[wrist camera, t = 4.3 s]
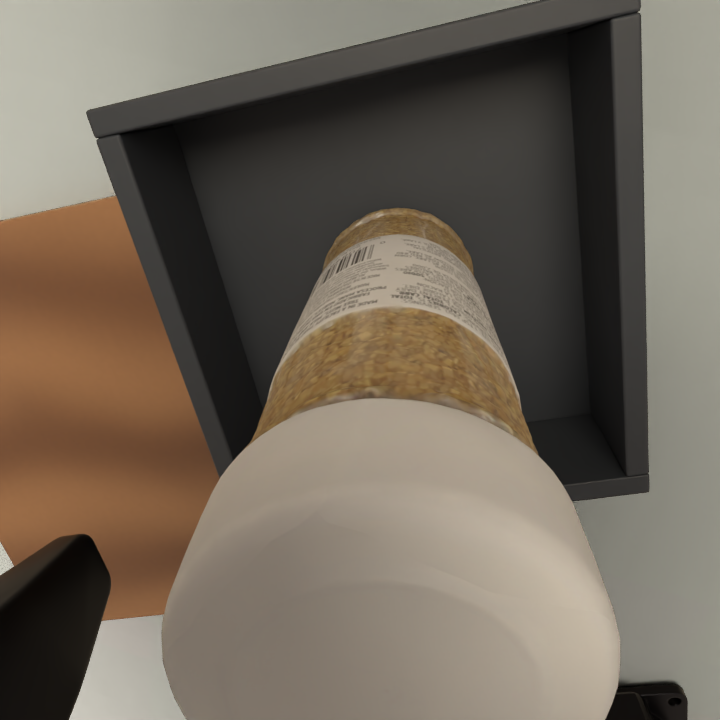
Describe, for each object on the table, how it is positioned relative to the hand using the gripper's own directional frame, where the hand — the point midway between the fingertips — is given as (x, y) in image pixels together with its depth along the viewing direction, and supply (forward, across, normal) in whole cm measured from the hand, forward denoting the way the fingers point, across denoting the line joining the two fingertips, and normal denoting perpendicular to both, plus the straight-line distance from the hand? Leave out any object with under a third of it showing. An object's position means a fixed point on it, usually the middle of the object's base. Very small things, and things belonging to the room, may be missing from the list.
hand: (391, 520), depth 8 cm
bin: (+11, 0, 0) cm, 11 cm away
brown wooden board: (+11, +12, +4) cm, 17 cm away
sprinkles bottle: (+11, 0, 0) cm, 11 cm away
